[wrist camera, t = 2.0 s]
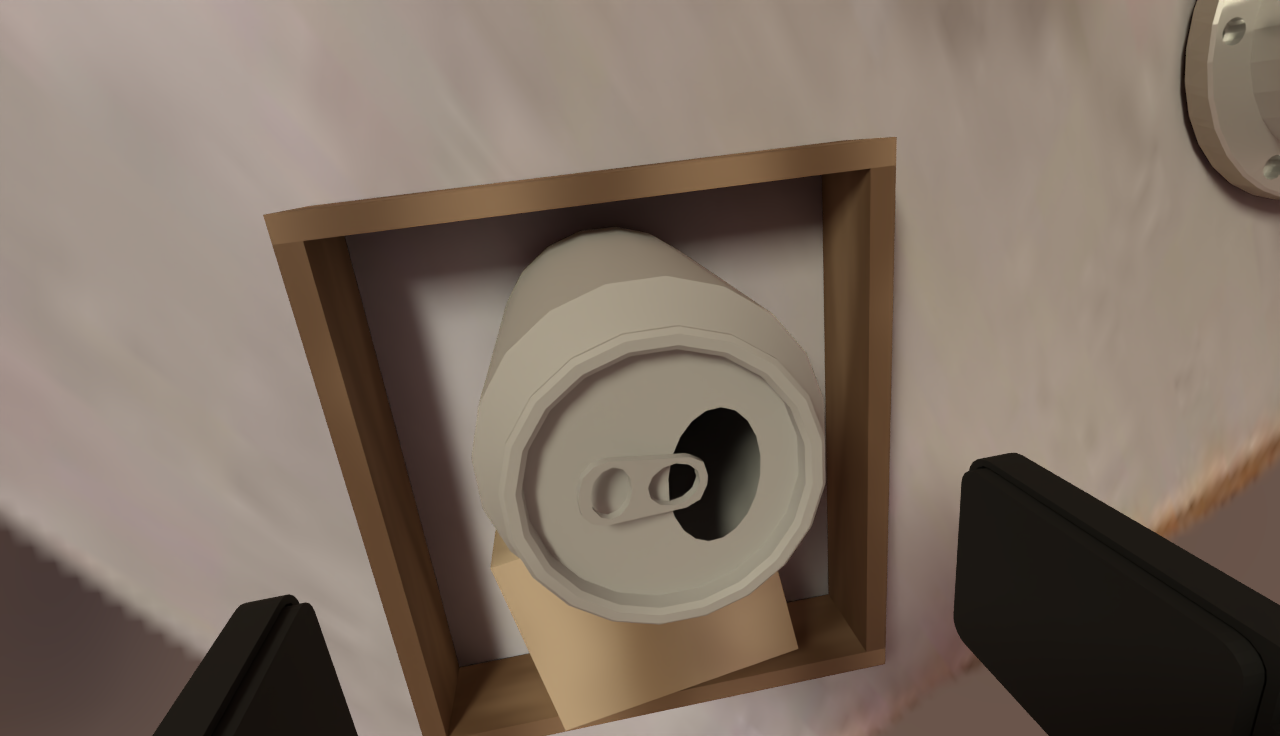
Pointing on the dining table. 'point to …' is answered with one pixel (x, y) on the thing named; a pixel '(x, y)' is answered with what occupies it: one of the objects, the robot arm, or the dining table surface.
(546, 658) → the offcut stack
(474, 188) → the wooden frame
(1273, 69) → the robot arm
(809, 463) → the can
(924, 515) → the dining table surface
